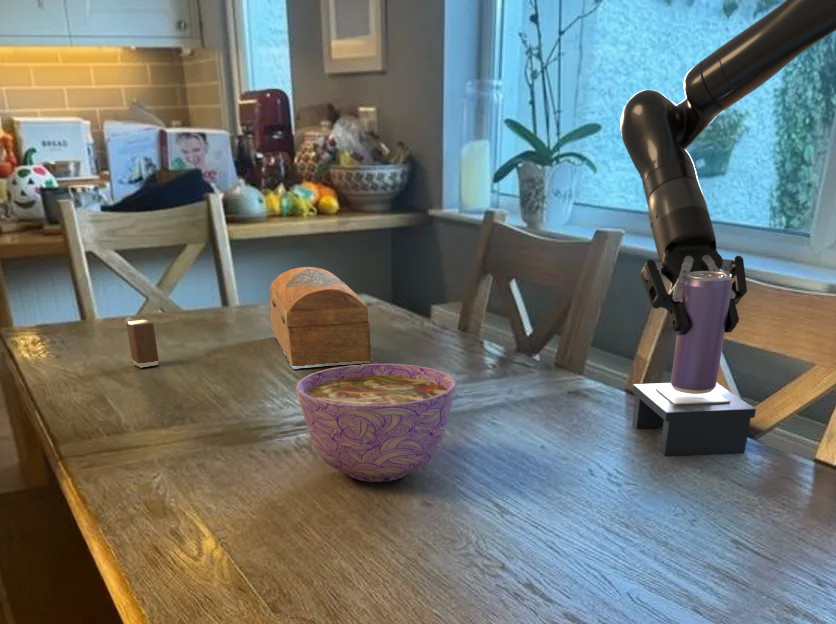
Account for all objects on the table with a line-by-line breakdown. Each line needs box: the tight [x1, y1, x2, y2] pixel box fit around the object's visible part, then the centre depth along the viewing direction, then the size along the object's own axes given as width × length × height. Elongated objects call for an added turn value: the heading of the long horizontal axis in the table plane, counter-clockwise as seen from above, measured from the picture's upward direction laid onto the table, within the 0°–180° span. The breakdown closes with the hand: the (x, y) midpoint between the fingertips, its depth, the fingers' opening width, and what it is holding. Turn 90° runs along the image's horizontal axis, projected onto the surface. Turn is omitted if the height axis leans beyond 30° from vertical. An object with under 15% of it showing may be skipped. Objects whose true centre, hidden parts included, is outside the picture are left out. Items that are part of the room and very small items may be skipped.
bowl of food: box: [295, 363, 457, 483], centre depth 115 cm, size 20×20×12 cm
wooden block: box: [126, 319, 160, 363], centre depth 168 cm, size 4×4×8 cm
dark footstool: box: [631, 382, 757, 457], centre depth 126 cm, size 12×14×6 cm
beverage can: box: [670, 271, 732, 394], centre depth 120 cm, size 6×6×15 cm
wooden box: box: [269, 266, 372, 366], centre depth 176 cm, size 30×16×14 cm, turn 12°
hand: (707, 330), depth 119 cm, fingers closed on beverage can, 6 cm apart
